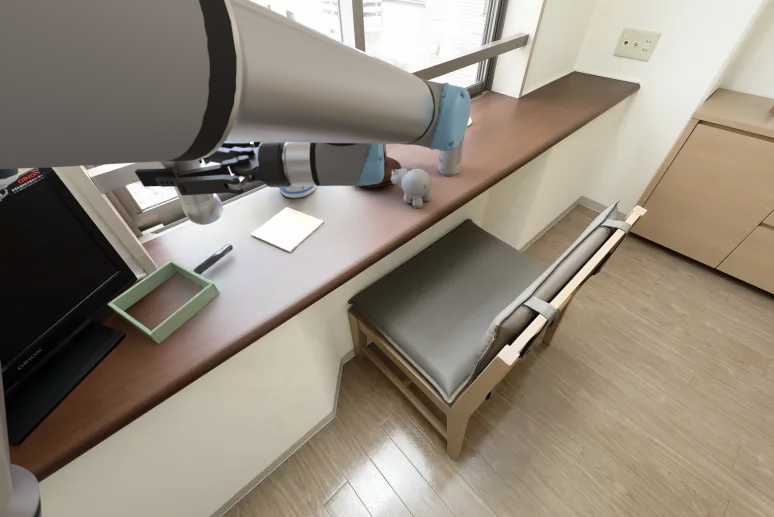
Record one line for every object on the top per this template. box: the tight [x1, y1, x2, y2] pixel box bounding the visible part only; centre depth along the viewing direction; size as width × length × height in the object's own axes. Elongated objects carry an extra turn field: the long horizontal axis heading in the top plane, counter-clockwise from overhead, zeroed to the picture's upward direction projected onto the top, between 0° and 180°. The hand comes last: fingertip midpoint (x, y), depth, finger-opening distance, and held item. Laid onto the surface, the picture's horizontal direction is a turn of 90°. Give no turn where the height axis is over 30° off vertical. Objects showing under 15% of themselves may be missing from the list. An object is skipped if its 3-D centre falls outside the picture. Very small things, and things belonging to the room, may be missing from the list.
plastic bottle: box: [157, 160, 224, 226], centre depth 57 cm, size 6×7×20 cm
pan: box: [107, 243, 234, 345], centre depth 67 cm, size 23×13×3 cm, turn 149°
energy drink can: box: [437, 133, 466, 177], centre depth 90 cm, size 6×6×15 cm
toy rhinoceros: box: [391, 164, 433, 209], centre depth 85 cm, size 7×12×8 cm, turn 44°
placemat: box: [250, 206, 325, 253], centre depth 80 cm, size 12×12×1 cm
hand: (151, 166), depth 56 cm, fingers closed on plastic bottle, 6 cm apart
